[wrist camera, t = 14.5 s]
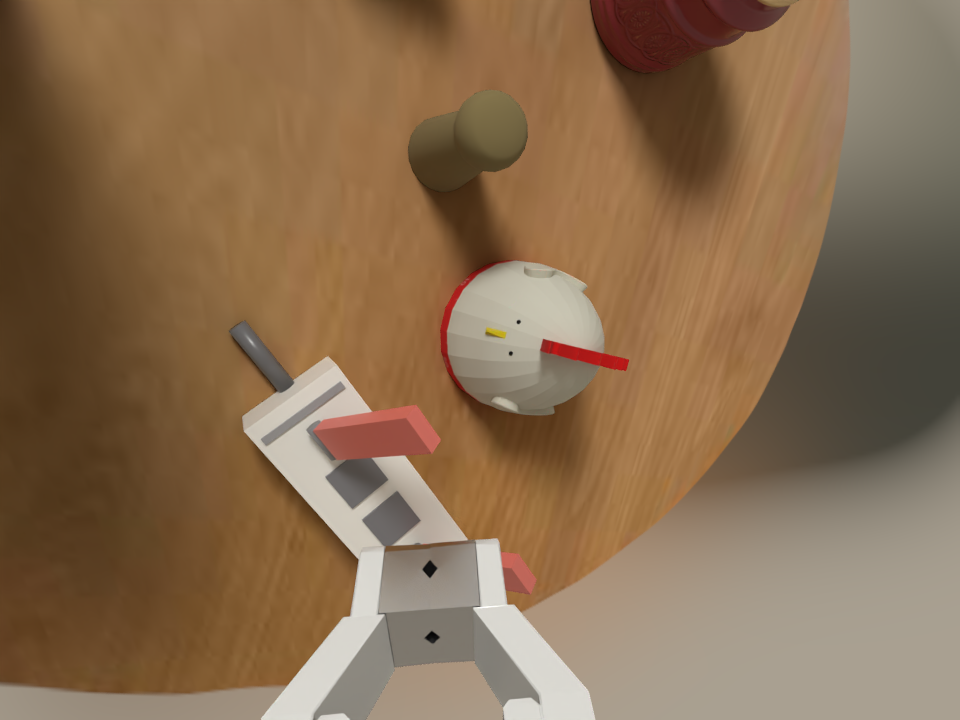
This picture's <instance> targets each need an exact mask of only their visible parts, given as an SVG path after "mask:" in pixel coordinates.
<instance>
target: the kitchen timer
mask: <svg viewBox="0 0 960 720" xmlns="http://www.w3.org/2000/svg"><path fill="white" fill-rule="evenodd" d="M586 288H587V285H586V284H584V283H583V282H582V281H580V280H578V279H576V278H575V277H573V276H571V275H569V274H567V273H564V272H562V271H559V270H557V269H554V268H551V267H549V266H546V265H543V264H539V263H530V262H523V261H516V260H507V261H502V262H496V263H491V264H488V265H486V266H484V267H482V268H480V269H479V270H477V271H475V272H473V273H471V274H470V275H469V276H468V277H467V278H466V279H465V280H464V281H463V282H462V283H461V284H460V285H459V286H458V287H457V288H456V290H455V292H454V294H453V295H452V297H451V299H450V301H449V303H448V304H447V306H446V308H445V312H444V317H443V321H442V325H441V329H440V333H441V352H442V356H443V359H444V362H445V365H446V368H447V371H448V372H449V374H450V375H451V377H452V378H453V380H454V381H455V383H456V384H457V385H458V387H459V388H460V389H462V390H463V391H464V392H466V393H467V394H468V395H470V396H471V397H472V398H474V399H475V400H477V401H479V402H481V403H484V404H487V405H490V406H493V407H494V408H496V409H499V410H501V411H506V412H511V413H517V414H523V415H551V414H554V413H555V411H554V407H553V406H555V405H558V404H561V403H564V402H566V401H567V400H569V399H571V398H572V397H574V396H575V395H576V394H578V393H579V392H581V391H582V390H583V389H584V388H585V387H586V386H587V385H588V384H589V383H590V381H591V380H592V379H593V378H594V376H595V375H596V373H597V371H598V369H599V367H600V366H603V367H607V368H611V369H614V370H616V369H618V370H621V371H622V370H624V371H626V370H627V366H628V362H629V360H628V359H624V358H620V357H616V356H612V355H608V354H604V334H603V329H602V325H601V321H600V318H599V316H598V314H597V313H596V311H595V309H594V307H593V305H592V303H591V301H590V300H589V299H588V298H587V297H586V296H585V295H584V294H583V293H582V292H583V291H584V290H585V289H586Z"/></svg>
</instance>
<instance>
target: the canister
mask: <svg viewBox="0 0 960 720" xmlns="http://www.w3.org/2000/svg"><path fill="white" fill-rule="evenodd" d="M797 1H799V0H591V6H592V12H593V17H594V21H595V24H596V27H597V30H598V32H599V34H600V37H601V39H602V41H603V42H604V44H605V46H606V47H607V49H608V50H609V52H610V53H611V54H612V55H613V56H614V57H615V58H616V59H617V60H618V61H619V62H620V63H621V64H623V65H624V66H626V67H627V68H629V69H631V70H634V71H637V72H641V73H652V72H660V71H665V70H669V69H671V68H673V67H676V66H678V65H680V64H682V63H683V62H685V61H686V60H687V59H689V58H692V57H694V56H696V55H699V54H701V53H703V52H706V51H708V50H710V49H713V48H715V47H721V46H725V45H728V44H731V43H733V42H734V41H736V40H737V39H739V38H740V37H741V36H743V35H744V34H745V33H746V32H755V31H759V30H763V29H765V28H767V27H769V26H771V25H773V24H774V23H775V22H776V21H778V20H779V19H780V18H781V17H782V16H783V15H784V13H785V12H786V11H787V10H788V8H789V7H790V5H791V4H794V3H795V2H797Z"/></svg>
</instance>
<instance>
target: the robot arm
mask: <svg viewBox="0 0 960 720" xmlns="http://www.w3.org/2000/svg"><path fill="white" fill-rule="evenodd" d="M464 661H475V664H476V665H477V667H478V669H479V670H480V672H481V674H482V675H483V677H484V678H485V680H486V681H487V683H488V685H489V686H490V688H491V689H492V691H493V693H494V694H495V696H496V697H497V699H498V700H499V702H500V704H501V705H502V707H503V720H595V716H594V712H593V708H592V704H591V699H590V695H589V691H588V690H587V689H586V688H585V687H584V685H583V684H582V683H581V682H580V681H579V680H578V679H577V677H576V676H575V675H574V674H573V673H572V671H571V670H570V669H569V668H568V667H567V666H566V664H565V663H564V662H563V661H562V660H561V659H560V658H559V656H558V655H557V654H556V653H555V652H554V651H553V649H552V648H551V647H550V646H549V645H548V643H547V642H546V641H545V640H544V639H543V638H542V637H541V635H540V634H539V633H538V632H537V631H536V630H535V629H534V627H533V626H532V625H531V624H530V623H529V621H528V620H527V619H526V618H525V617H524V616H523V614H522V613H521V612H520V611H519V610H518V609H517V607H516V606H515V605H507V598H506V591H505V583H504V575H503V568H502V560H501V552H500V544H499V541H498V539H484V540H465V541H452V542H440V543H431V544H420V545H396V546H377V547H362V550H361V552H360V556H359V562H358V569H357V576H356V582H355V589H354V595H353V602H352V608H351V615H350V617H343V618H342V619H341V621H340V622H339V623H338V624H337V626H336V627H335V628H334V629H333V631H332V632H331V633H330V634H329V635H328V637H327V638H326V639H325V640H324V642H323V643H322V644H321V645H320V646H319V648H318V649H317V650H316V651H315V653H314V654H313V655H312V656H311V658H310V659H309V660H308V661H307V662H306V664H305V665H304V666H303V667H302V669H301V670H300V671H299V672H298V674H297V675H296V676H295V677H294V678H293V680H292V681H291V682H290V683H289V685H288V686H287V687H286V688H285V690H284V691H283V692H282V693H281V694H280V696H279V697H278V698H277V699H276V701H275V702H274V703H273V704H272V705H271V707H270V708H269V709H268V710H267V712H266V713H265V714H264V715H263V717H262V718H261V720H366V719H367V717H368V715H369V714H370V712H371V710H372V708H373V707H374V705H375V703H376V702H377V700H378V698H379V697H380V695H381V693H382V691H383V690H384V688H385V686H386V684H387V683H388V681H389V679H390V677H391V676H392V674H393V672H394V670H395V669H394V667H403V666H411V665H421V664H430V663H445V662H464Z"/></svg>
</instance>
